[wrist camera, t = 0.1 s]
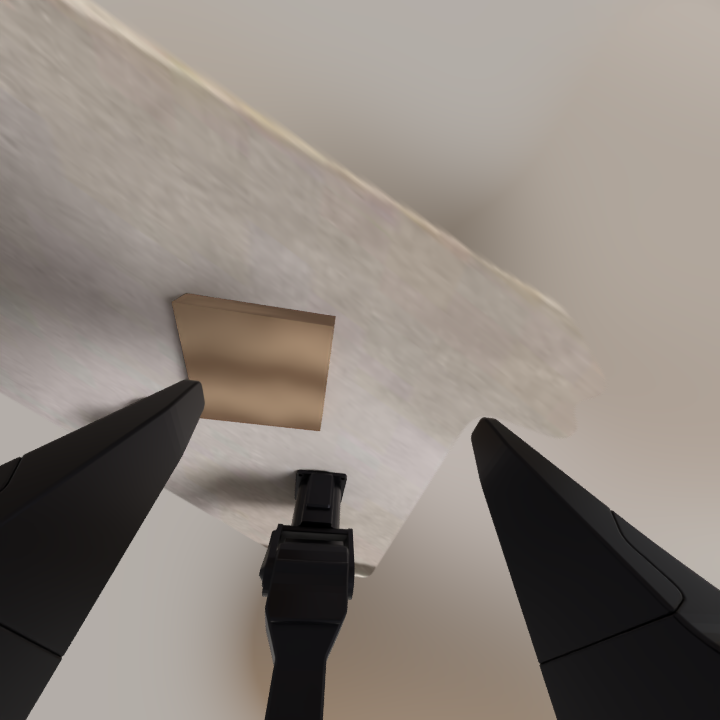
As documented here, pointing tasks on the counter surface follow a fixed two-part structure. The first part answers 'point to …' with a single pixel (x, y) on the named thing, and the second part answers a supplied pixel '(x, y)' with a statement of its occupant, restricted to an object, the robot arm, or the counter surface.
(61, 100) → the counter surface
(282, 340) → the walnut block
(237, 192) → the counter surface
